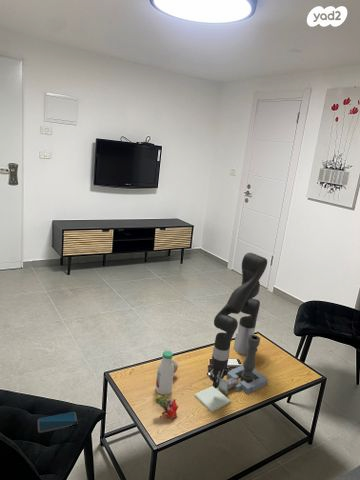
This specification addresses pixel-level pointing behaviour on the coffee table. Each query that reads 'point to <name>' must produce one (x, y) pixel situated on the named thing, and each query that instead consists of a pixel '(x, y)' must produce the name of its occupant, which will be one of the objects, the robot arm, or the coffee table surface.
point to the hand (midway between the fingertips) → (215, 387)
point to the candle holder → (250, 359)
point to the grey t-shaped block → (227, 384)
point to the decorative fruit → (175, 365)
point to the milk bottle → (165, 374)
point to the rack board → (212, 398)
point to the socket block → (247, 387)
